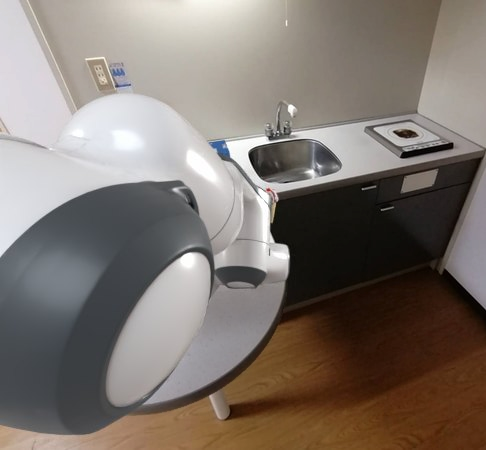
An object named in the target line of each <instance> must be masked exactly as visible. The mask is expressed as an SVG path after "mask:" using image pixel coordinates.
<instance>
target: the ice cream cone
mask: <svg viewBox="0 0 486 450" xmlns="http://www.w3.org/2000/svg"><path fill="white" fill-rule="evenodd" d="M264 190H265V191H266V192H267V194H268V195H269V196H270V197H271V199H272V209H271V216H270V226H273V222H274V217H275V211H276V206H277V203H278V201H279V194H277V192H276V190H275V189H273V188H270V187H268V188H265V189H264Z"/></svg>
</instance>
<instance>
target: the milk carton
mask: <svg viewBox="0 0 486 450" xmlns="http://www.w3.org/2000/svg"><path fill="white" fill-rule="evenodd" d="M207 142H208V141H207ZM208 143H209V144H210V145H211V146H212V148H213V149H214V150H215V152H216V153H221V154H224V155H227V156H229V157H231V153H230V150H229V147H228V145H227V142H226V140H225V139H222V140H214V141H209V142H208Z"/></svg>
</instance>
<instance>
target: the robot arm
mask: <svg viewBox="0 0 486 450" xmlns="http://www.w3.org/2000/svg"><path fill="white" fill-rule="evenodd" d="M265 190H266V189H264V188H262V187H261V186H259V185H257V184H256V183H254V181H253V180H252V178H250V176H249V175H248V173H246V171H245V170H244V169H243V168H242V166H241V165H240V164H239V163H238V162H237V161H236V160H235V159H234V158H232V157H231V156H230V157H229V156H227V155H224V154H221V153H216V152H215V150H214V149H213V148H212V146H211V145H210V144H209V143H208V141H207V139H206V138H205V137H204V136H203V135H202V134H201V133H200V132H199V131H198V130H197V129H196V128H195V127H194V126H193V125H192V124H191V123H190V122H189V121H188V120H187V119H186V118H184V117H183V116H182V115H181V114H180V113H178V112H177V111H176V110H175V108H172V107H171V106H170V105H168V104H167V103H165V102H163V101H161V100H159V99H157V98H155V97H151V96H148V95H145V94H140V93H133V92H122V93H113V94H108V95H104V96H100V97H98V98H96V99H93V100H92V101H90V102H88V103H86V104H85V105H83V106H82V107H80V108H79V109H78V110H77V111H76V112H75V113H73V114H72V115H71V117H69V119H67V121H66V123H65V124H64V125H63V126H62V129H61V130H60V132H59V134H58V137H57V140H56V142H54V143H53V144H50V145H45V146H44V145H41V144H39V143H36V142H34V141H32V140H29V139H27V138H26V139H25V138H22V137H20V136H16V135H14V134H10V133H7V132H4V131H0V426H2V427H6V428H12V429H15V430H21V431H26V432H31V433H37V434H46V435H56V436H86V435H91V434H94V433H97V432H99V431H102V430H104V429H105V428H107V427H109V426H111V425H112V424H114V423H116V422H117V421H119V420H121V419H122V418H124V417H126V416H127V415H129V414H131V413H132V412H134V411H135V410H137V409H139V408H140V407H141V406H143V405H145V403H146V402H148V400H150V399H151V398H152V397H153V396H154V395H155V394H156V393H157V392H158V390H159V389H160V388H161V387H162V386H163V385H164V384H165V383H166V382H167V380H168V379H169V377H170V376H171V375H172V374H173V372H174V371H175V370H176V368H177V367H178V366H179V364H180V362H181V361H182V360H183V359H184V358H185V356H186V355H187V353H188V352H189V350H190V348H191V347H192V345H193V343H194V341H195V340H196V338H197V335H199V334H198V333H199V332H200V329H201V327H202V325H203V322H204V320H205V316H206V313H207V309H208V307H209V304H210V300H211V299H212V297H213V296H214V294H215V293H216V292H217V291H218V289H219V288H220V287H221V286H224V287H225V288H227V289H230V290H241V289H245V290H246V289H247V290H248V289H249V290H251V289H252V290H253V289H254V290H256V289H257V288H258V287H260V286H262V285H272V284H278V283H283V282H286V281H287V279H288V278H289V275H290V268H291V254H290V249H289V246H288V245H286V244H284V243H277V242H271V241H270V240H271V222H270V216H271V209H272V199H271V197H270V196H269V195H268V194H267V192H266V191H265Z"/></svg>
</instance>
